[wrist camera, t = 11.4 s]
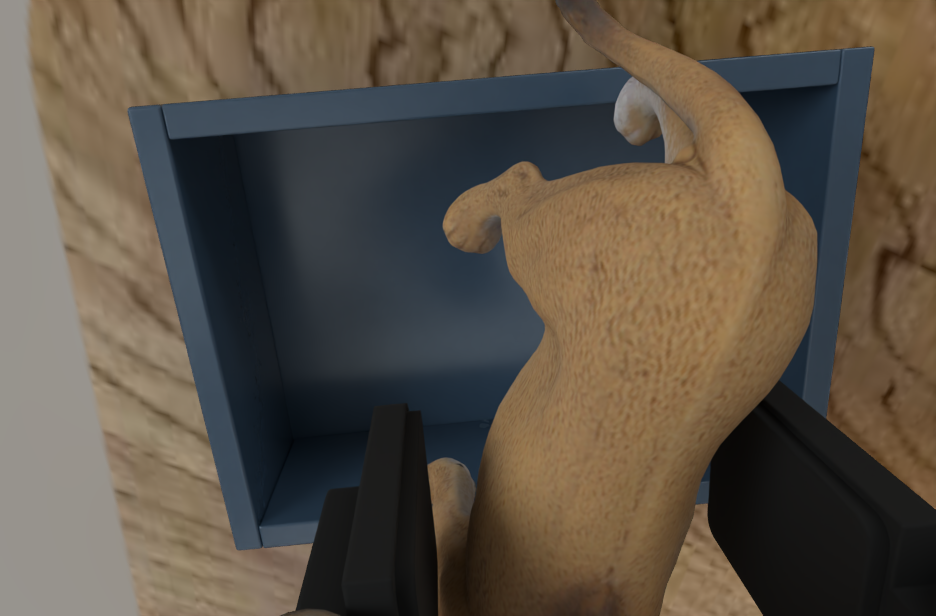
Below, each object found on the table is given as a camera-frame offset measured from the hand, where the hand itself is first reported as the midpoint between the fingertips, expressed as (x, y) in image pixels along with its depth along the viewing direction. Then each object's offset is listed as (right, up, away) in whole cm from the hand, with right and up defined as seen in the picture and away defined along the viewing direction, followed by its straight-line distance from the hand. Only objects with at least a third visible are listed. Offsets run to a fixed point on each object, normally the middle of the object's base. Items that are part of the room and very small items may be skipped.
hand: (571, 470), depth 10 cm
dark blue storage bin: (-1, +4, +12) cm, 12 cm away
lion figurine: (0, +2, +4) cm, 4 cm away
